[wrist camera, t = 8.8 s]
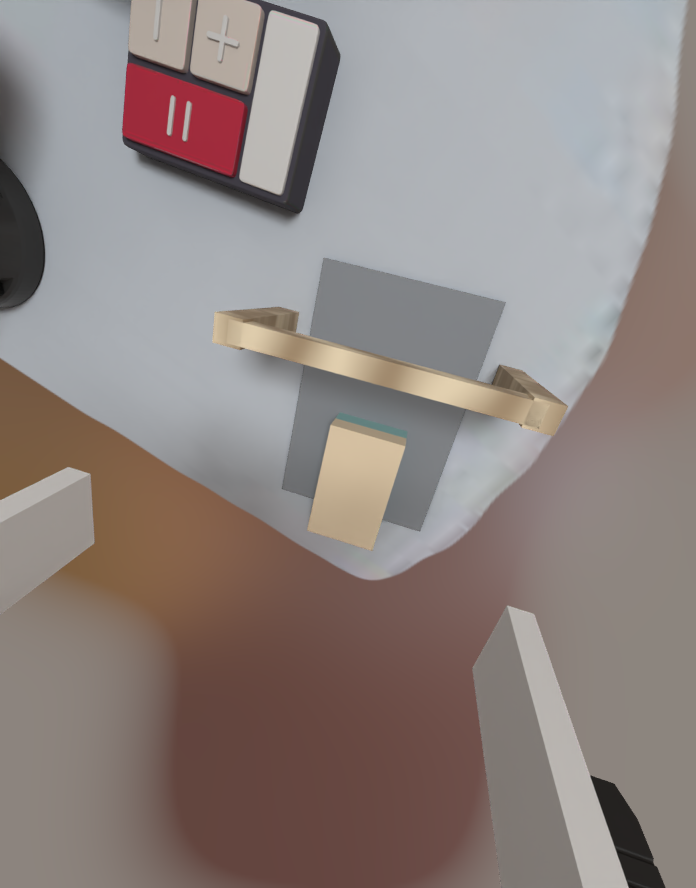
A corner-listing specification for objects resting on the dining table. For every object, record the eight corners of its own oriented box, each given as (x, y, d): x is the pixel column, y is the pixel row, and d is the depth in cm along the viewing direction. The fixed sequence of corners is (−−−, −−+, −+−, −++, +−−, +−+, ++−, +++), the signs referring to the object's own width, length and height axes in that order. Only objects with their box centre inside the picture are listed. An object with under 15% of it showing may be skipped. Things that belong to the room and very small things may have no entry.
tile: (330, 424, 34) (339, 412, 38) (307, 530, 39) (317, 510, 42) (405, 446, 33) (407, 431, 37) (372, 551, 38) (376, 528, 42)
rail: (275, 328, 36) (212, 342, 25) (279, 307, 35) (214, 311, 25) (513, 391, 34) (553, 436, 23) (522, 370, 33) (567, 406, 23)
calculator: (125, -52, 25) (326, 12, 24) (167, -4, 29) (343, 53, 28) (113, 140, 30) (282, 203, 28) (151, 159, 34) (302, 215, 32)
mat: (283, 487, 43) (281, 489, 42) (324, 258, 33) (323, 257, 33) (419, 529, 41) (419, 531, 41) (504, 302, 32) (505, 302, 31)
